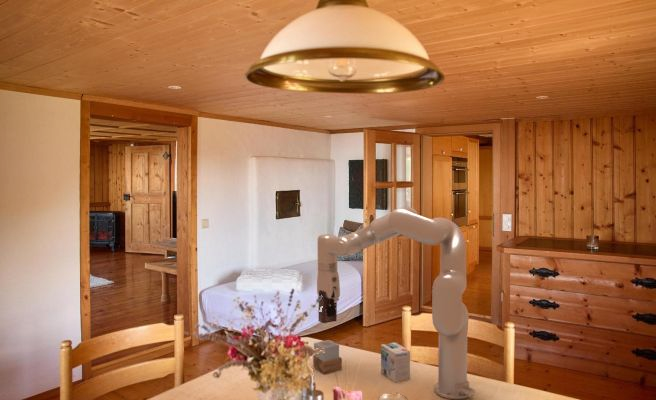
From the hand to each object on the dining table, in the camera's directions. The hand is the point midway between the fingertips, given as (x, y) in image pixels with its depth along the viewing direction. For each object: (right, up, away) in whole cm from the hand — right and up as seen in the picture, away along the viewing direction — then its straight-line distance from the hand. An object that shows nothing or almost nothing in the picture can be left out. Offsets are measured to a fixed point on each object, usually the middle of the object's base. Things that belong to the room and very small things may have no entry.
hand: (327, 313), depth 187 cm
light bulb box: (+25, -22, -6) cm, 34 cm away
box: (0, -3, 0) cm, 3 cm away
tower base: (0, -22, +1) cm, 22 cm away
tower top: (-1, -17, +1) cm, 17 cm away
